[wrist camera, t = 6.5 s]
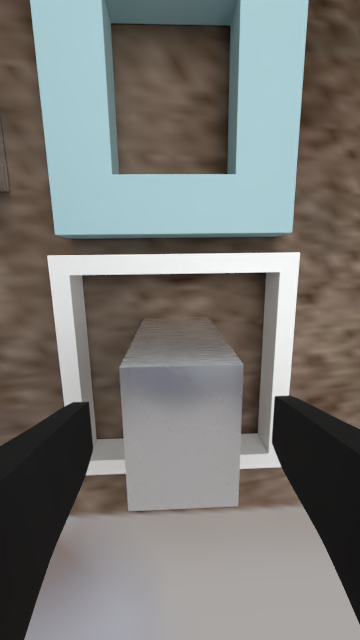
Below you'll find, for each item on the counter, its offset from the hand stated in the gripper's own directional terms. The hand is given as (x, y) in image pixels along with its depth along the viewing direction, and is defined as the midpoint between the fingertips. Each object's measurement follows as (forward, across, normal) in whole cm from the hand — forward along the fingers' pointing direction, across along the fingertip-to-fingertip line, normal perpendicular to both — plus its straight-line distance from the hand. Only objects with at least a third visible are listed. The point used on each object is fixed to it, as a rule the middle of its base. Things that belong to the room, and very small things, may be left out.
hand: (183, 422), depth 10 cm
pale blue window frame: (+7, 0, -14) cm, 16 cm away
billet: (+7, 0, 0) cm, 7 cm away
